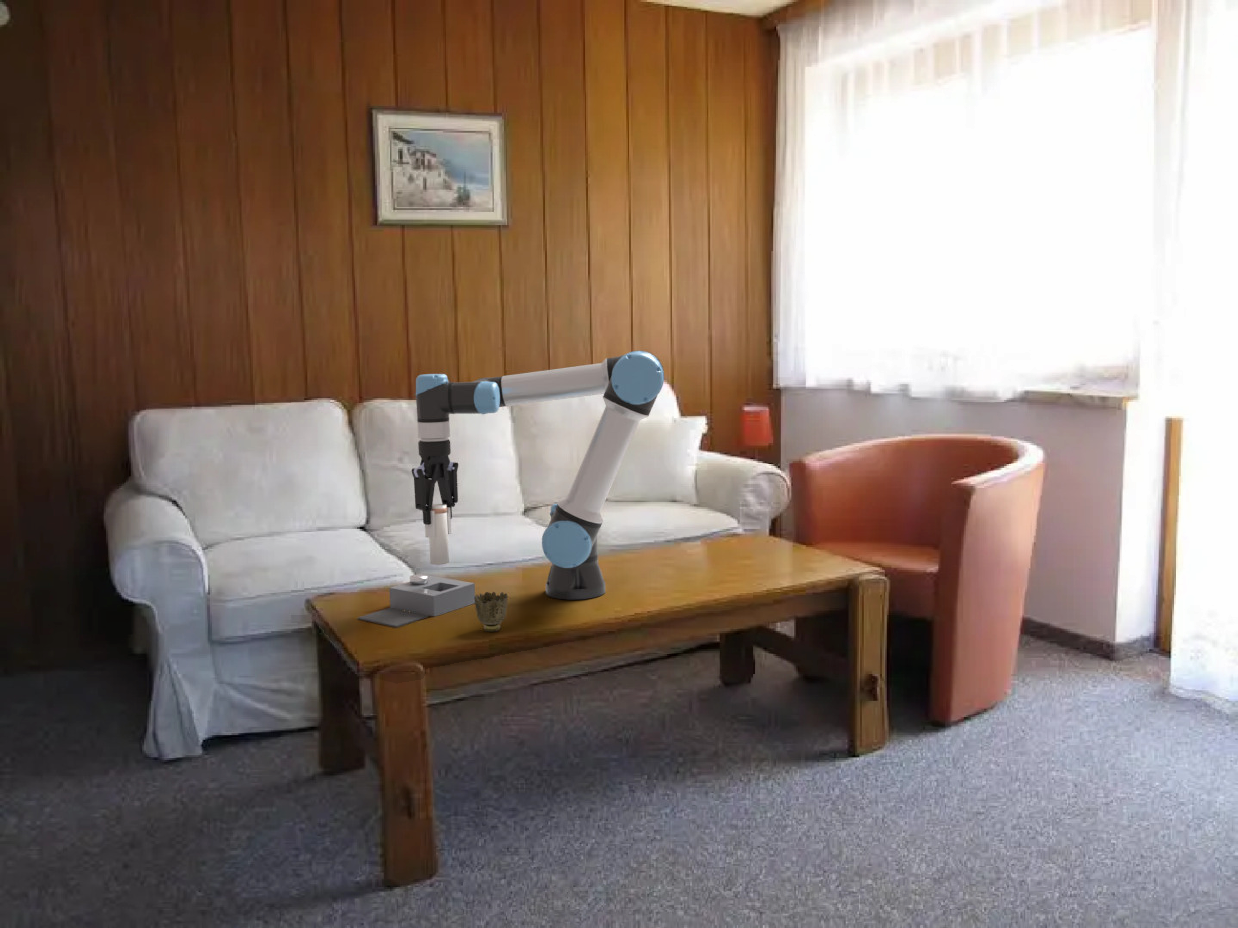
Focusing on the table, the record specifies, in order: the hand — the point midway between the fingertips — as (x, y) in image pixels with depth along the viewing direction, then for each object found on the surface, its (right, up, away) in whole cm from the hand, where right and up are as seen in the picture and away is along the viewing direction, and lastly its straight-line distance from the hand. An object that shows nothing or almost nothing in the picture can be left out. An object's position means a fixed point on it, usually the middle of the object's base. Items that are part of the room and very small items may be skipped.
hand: (438, 535), depth 254 cm
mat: (-10, -19, -7) cm, 22 cm away
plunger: (-6, -16, +7) cm, 19 cm away
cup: (+15, -20, -18) cm, 31 cm away
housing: (-2, -17, +4) cm, 18 cm away
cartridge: (0, -7, +1) cm, 7 cm away
